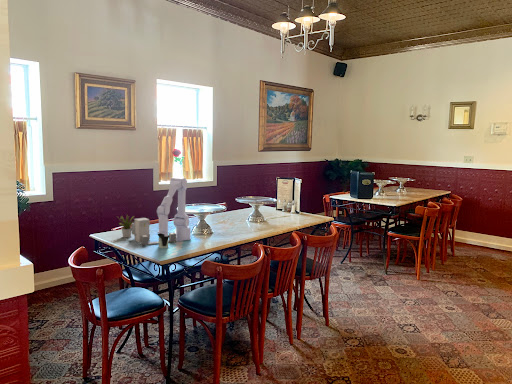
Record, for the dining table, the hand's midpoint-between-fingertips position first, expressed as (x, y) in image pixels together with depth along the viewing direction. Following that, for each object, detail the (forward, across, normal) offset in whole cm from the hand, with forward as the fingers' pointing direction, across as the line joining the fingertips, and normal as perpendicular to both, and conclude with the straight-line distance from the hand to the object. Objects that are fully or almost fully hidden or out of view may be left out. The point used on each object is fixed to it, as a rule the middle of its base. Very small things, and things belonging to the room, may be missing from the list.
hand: (163, 245), depth 250 cm
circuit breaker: (+2, -26, -9) cm, 28 cm away
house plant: (+2, -38, -17) cm, 42 cm away
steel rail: (+1, -11, 0) cm, 11 cm away
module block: (+1, 0, 0) cm, 1 cm away
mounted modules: (+1, -11, 0) cm, 11 cm away
